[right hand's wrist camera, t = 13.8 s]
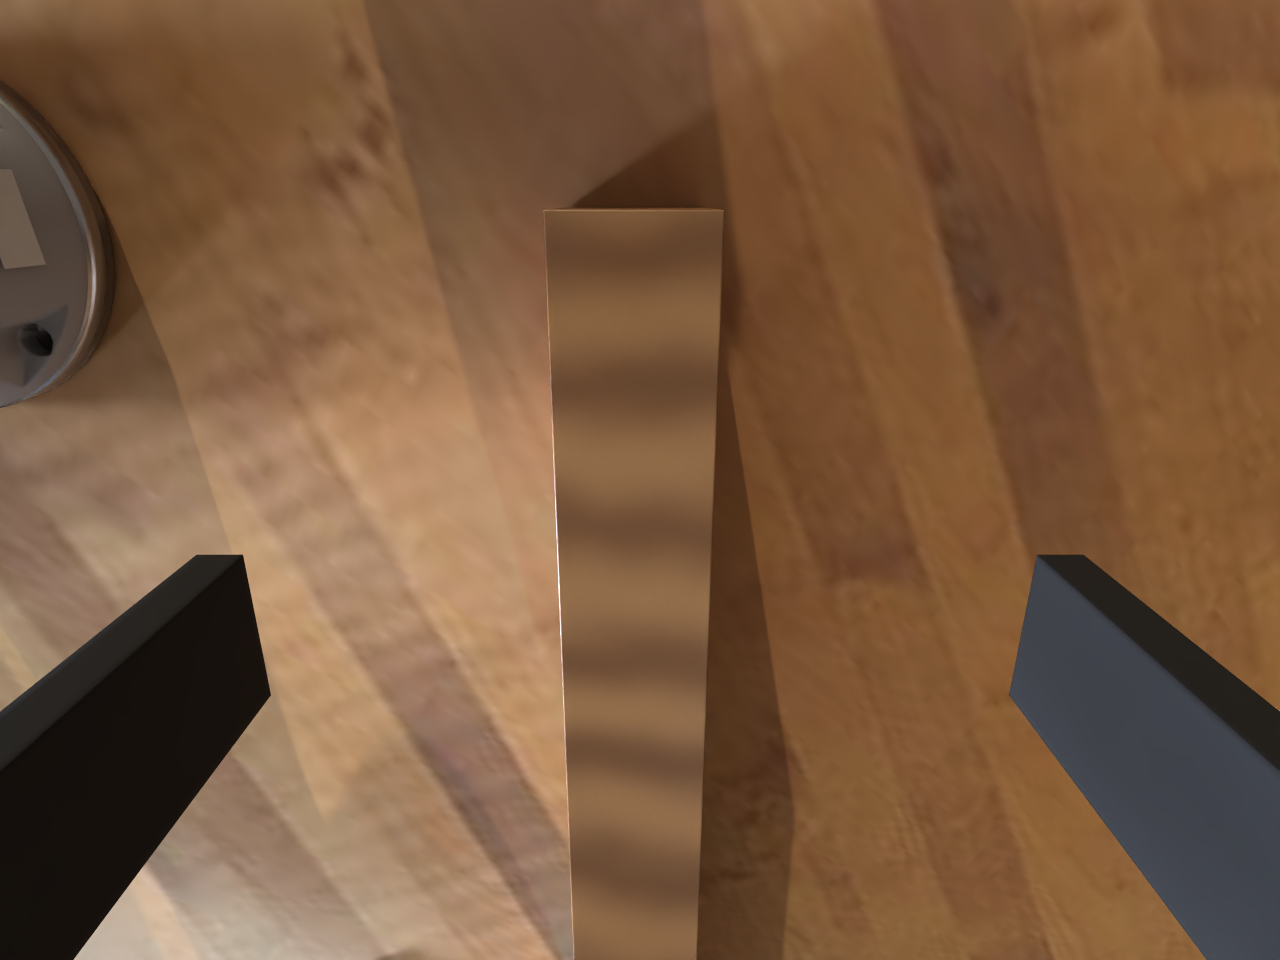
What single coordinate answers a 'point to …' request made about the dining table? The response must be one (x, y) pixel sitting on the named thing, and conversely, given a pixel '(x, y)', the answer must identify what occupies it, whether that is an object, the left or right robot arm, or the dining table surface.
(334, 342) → the dining table surface
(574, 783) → the beam
